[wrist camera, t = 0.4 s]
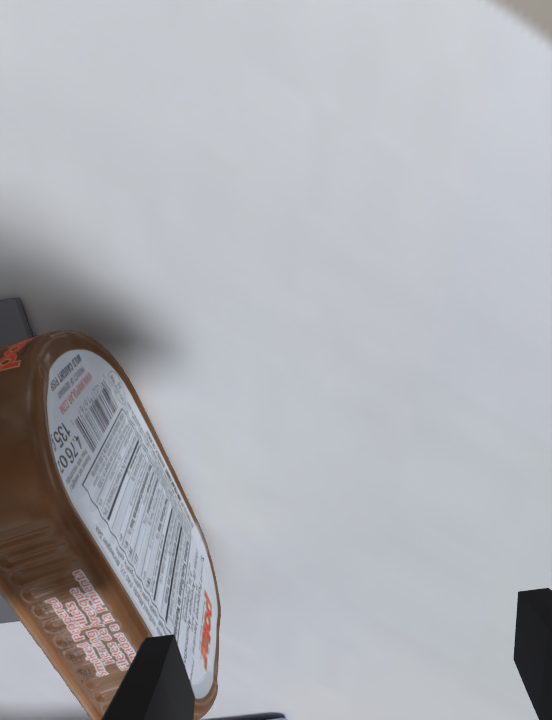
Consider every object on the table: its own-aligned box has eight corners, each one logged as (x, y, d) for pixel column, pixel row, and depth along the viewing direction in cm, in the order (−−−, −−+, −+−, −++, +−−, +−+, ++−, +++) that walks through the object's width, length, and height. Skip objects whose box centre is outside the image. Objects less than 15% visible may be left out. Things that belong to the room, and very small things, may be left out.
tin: (32, 317, 17) (-158, 431, 10) (107, 293, 17) (-27, 390, 9) (180, 591, 23) (135, 805, 15) (239, 576, 23) (224, 787, 15)
